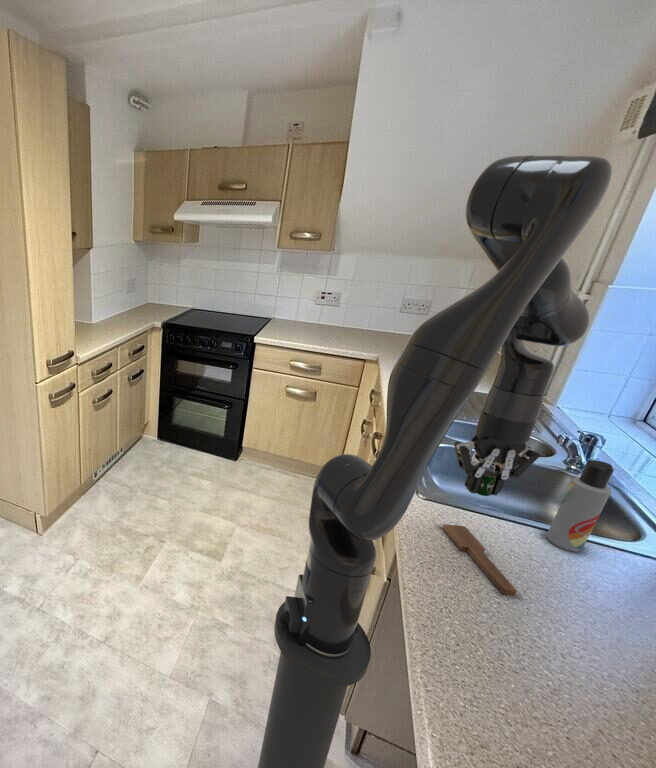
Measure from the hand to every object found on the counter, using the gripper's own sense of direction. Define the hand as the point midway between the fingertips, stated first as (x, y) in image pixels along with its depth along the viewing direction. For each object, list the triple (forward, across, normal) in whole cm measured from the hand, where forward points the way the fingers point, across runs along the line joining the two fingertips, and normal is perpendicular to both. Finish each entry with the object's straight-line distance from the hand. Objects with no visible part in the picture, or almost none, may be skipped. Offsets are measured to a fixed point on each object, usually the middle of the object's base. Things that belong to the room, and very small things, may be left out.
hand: (480, 491), depth 80 cm
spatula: (+16, -3, +1) cm, 16 cm away
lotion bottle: (+16, -25, -8) cm, 31 cm away
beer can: (0, 0, 0) cm, 0 cm away
